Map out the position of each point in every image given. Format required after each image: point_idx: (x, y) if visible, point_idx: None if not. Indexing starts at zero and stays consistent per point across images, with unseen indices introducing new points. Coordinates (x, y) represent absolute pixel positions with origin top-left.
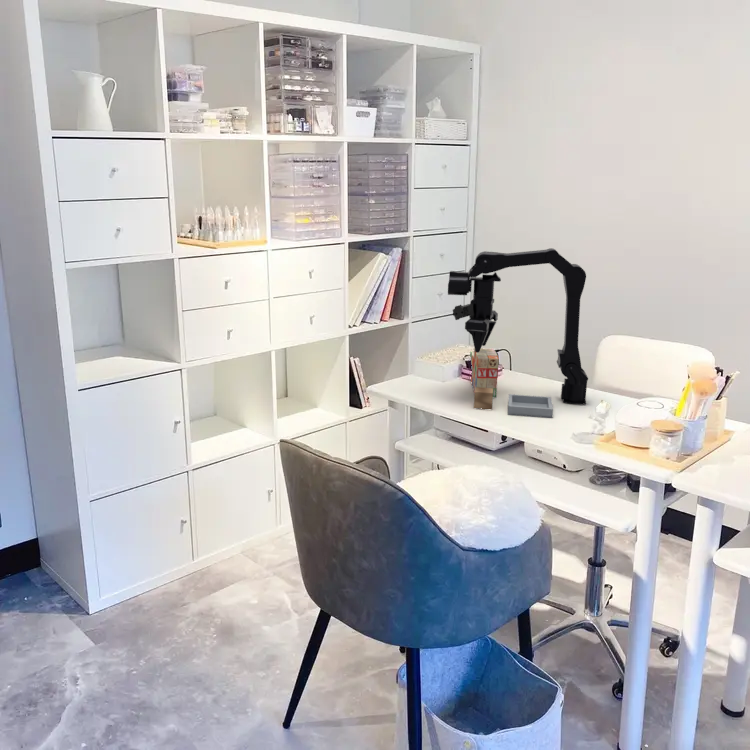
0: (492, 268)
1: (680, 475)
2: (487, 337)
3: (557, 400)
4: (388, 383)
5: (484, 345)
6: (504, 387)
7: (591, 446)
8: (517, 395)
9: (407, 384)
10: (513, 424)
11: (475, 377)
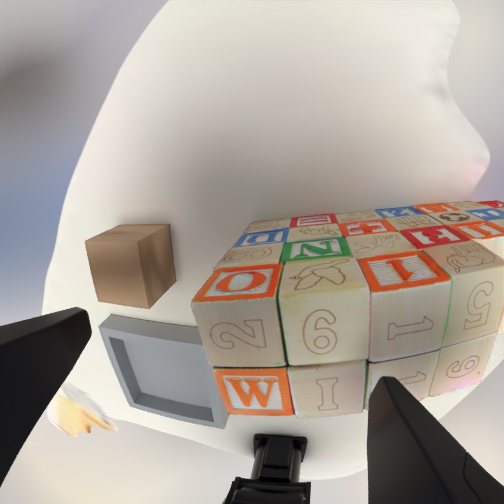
0: None
1: (54, 423)
2: (371, 480)
3: (278, 428)
4: None
5: (371, 397)
6: None
7: (61, 393)
8: (204, 366)
9: None
10: None
11: (298, 236)
